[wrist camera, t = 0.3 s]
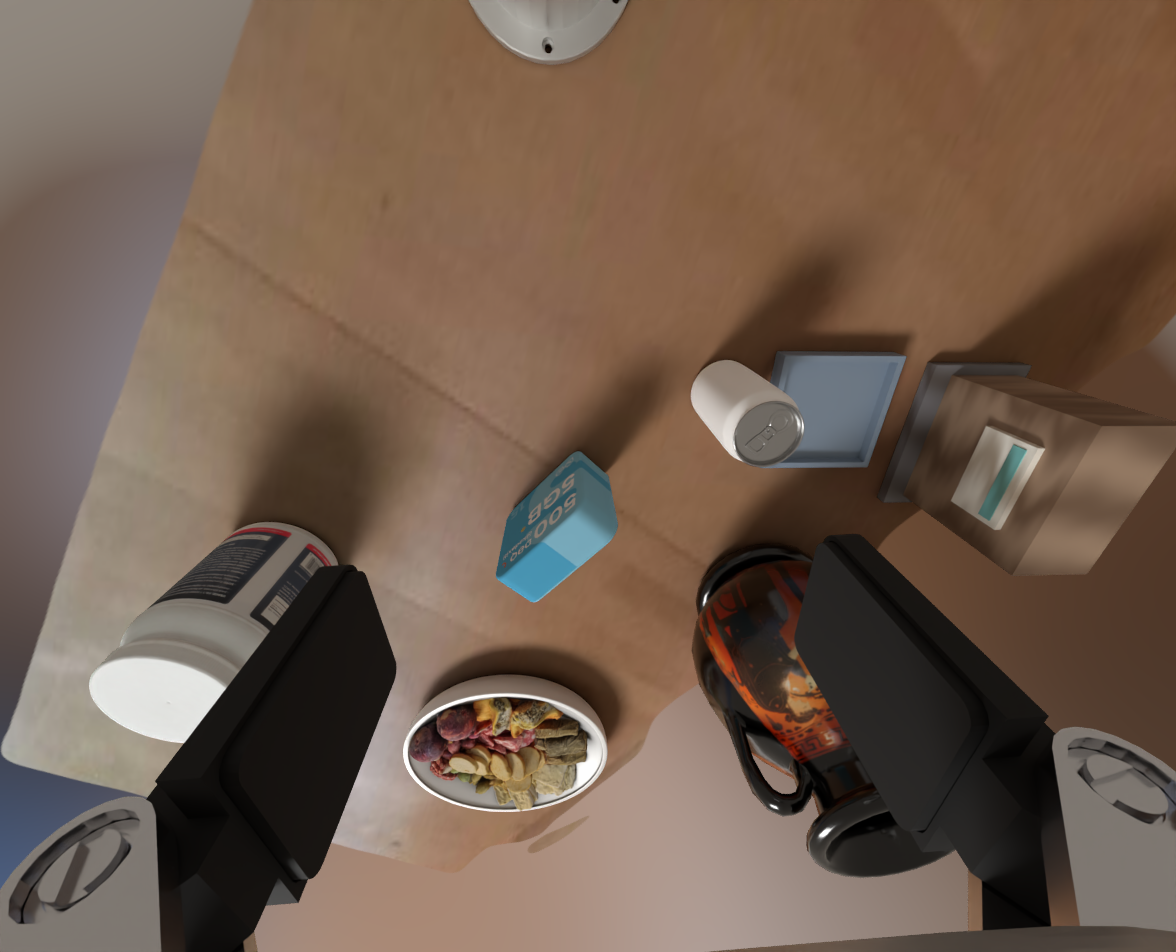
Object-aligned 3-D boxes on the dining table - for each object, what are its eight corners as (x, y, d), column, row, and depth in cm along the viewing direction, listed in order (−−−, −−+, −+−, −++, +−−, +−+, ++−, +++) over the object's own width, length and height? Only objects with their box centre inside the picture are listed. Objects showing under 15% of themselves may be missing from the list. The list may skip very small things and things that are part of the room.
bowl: (638, 693, 68) (647, 745, 61) (556, 793, 80) (556, 846, 73) (449, 638, 60) (435, 689, 53) (390, 757, 72) (371, 812, 65)
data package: (579, 445, 47) (584, 503, 37) (608, 471, 49) (621, 534, 38) (506, 514, 51) (492, 585, 40) (536, 535, 53) (529, 609, 42)
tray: (776, 351, 44) (785, 355, 42) (893, 351, 44) (906, 356, 42) (753, 460, 49) (760, 468, 47) (857, 459, 50) (867, 467, 48)
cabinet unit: (927, 362, 45) (1083, 413, 31) (1020, 362, 45) (1212, 412, 32) (876, 497, 52) (985, 585, 39) (957, 496, 53) (1091, 582, 39)
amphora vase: (851, 511, 53) (1100, 745, 28) (823, 637, 63) (989, 889, 39) (673, 531, 53) (770, 781, 29) (674, 653, 63) (746, 916, 39)
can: (765, 384, 45) (827, 427, 34) (720, 431, 47) (765, 485, 37) (721, 345, 43) (773, 378, 32) (676, 396, 45) (711, 443, 35)
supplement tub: (216, 574, 53) (63, 721, 37) (247, 496, 48) (87, 625, 32) (324, 615, 57) (228, 765, 40) (362, 547, 52) (271, 685, 36)
